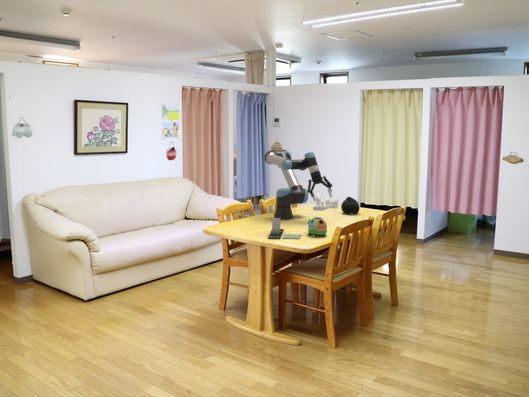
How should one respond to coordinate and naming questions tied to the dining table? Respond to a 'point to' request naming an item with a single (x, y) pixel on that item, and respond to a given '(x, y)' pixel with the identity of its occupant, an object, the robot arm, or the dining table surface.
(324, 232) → the turtle holder
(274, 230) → the gray rectangular brick
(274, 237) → the dark brown flat frame
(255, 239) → the dining table surface
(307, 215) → the dining table surface
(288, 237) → the mat
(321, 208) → the toy castle
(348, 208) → the squash
